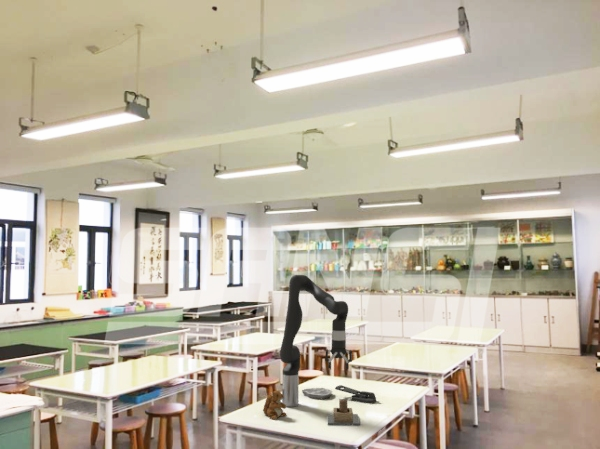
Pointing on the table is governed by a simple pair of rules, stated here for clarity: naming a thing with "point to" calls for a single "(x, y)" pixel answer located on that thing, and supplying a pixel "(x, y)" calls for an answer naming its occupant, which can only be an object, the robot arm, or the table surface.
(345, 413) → the well stand
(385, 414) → the table surface
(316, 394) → the brain slice
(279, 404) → the stuffed squirrel
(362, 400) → the zipper pull
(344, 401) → the walnut bar
